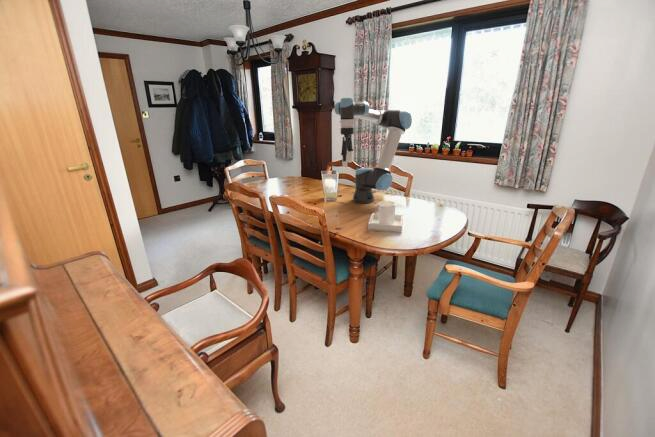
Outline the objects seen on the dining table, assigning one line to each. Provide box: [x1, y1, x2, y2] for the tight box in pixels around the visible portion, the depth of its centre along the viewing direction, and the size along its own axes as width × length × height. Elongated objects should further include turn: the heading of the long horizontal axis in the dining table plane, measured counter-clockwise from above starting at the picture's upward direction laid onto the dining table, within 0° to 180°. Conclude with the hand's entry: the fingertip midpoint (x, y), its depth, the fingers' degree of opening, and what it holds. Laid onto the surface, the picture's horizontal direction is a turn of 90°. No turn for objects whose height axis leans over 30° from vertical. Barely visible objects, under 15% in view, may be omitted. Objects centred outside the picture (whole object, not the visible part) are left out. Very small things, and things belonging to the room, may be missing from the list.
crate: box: [367, 212, 404, 234], centre depth 175 cm, size 18×18×4 cm
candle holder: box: [377, 200, 397, 225], centre depth 173 cm, size 10×10×12 cm
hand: (347, 164), depth 182 cm, fingers open, 13 cm apart
